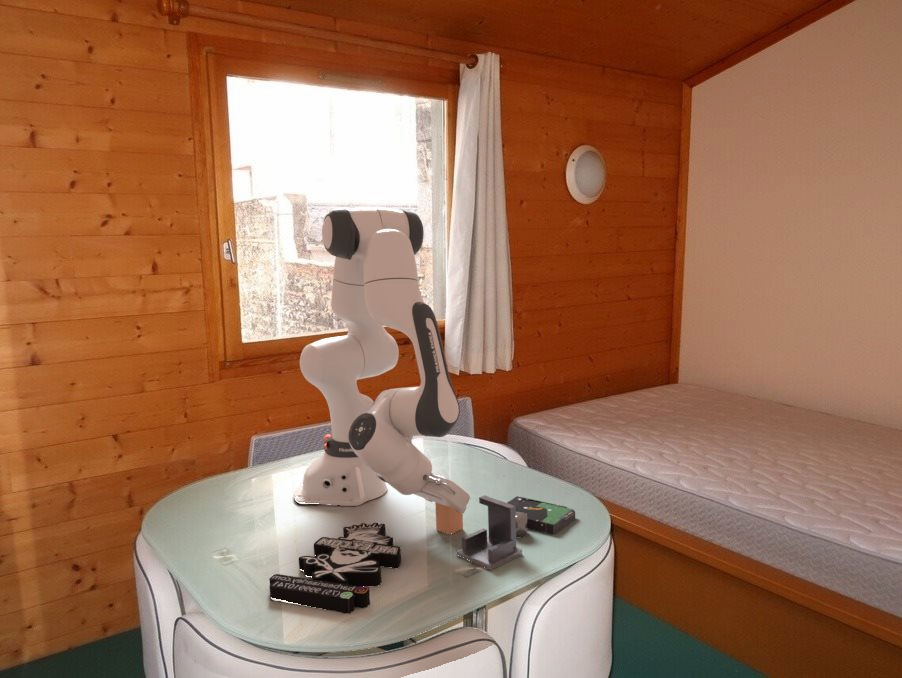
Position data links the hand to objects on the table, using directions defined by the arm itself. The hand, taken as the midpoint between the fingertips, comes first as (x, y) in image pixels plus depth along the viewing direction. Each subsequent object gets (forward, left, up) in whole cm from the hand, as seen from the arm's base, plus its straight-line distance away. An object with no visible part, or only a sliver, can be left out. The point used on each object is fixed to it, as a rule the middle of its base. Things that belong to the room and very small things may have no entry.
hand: (447, 504), depth 149 cm
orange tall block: (0, +1, -6) cm, 6 cm away
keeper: (+7, -12, -6) cm, 16 cm away
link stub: (+14, -3, -6) cm, 16 cm away
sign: (-20, -14, -7) cm, 25 cm away
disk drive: (+19, +3, -7) cm, 21 cm away
